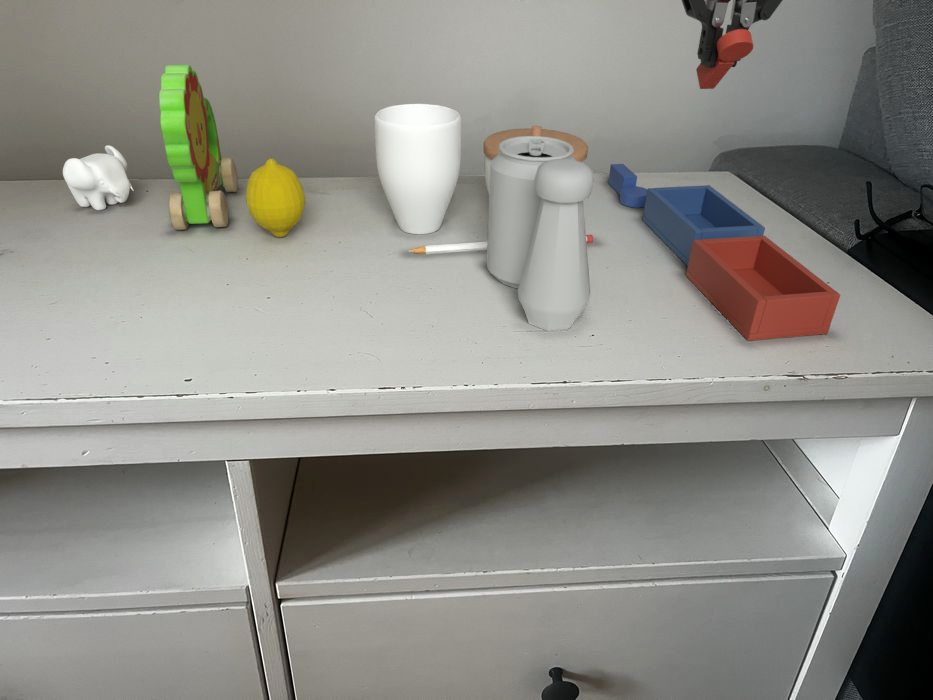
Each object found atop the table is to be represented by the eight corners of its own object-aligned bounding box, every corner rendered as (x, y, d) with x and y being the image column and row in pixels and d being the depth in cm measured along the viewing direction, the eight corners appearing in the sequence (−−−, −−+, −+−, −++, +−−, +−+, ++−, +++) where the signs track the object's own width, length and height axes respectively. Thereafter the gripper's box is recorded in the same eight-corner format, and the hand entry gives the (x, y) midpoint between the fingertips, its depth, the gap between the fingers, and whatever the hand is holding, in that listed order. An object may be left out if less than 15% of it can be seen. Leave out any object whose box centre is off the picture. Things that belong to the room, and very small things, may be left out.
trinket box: (460, 210, 78) (462, 123, 73) (530, 189, 84) (536, 107, 79) (530, 243, 72) (537, 149, 67) (600, 217, 78) (612, 129, 73)
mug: (462, 242, 72) (464, 126, 65) (378, 243, 71) (372, 126, 65) (455, 198, 82) (456, 94, 75) (381, 198, 81) (376, 94, 75)
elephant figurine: (108, 222, 74) (93, 166, 71) (49, 210, 76) (32, 155, 73) (155, 200, 79) (142, 147, 76) (98, 189, 82) (84, 137, 78)
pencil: (593, 243, 72) (593, 237, 72) (407, 256, 69) (407, 249, 68) (590, 239, 73) (591, 233, 72) (406, 252, 69) (406, 246, 69)
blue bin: (702, 216, 78) (709, 185, 76) (756, 262, 69) (765, 227, 67) (642, 220, 77) (647, 187, 75) (688, 267, 68) (695, 231, 66)
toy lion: (193, 187, 83) (165, 46, 75) (241, 185, 84) (219, 45, 75) (166, 245, 70) (129, 81, 61) (224, 242, 70) (196, 80, 62)
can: (480, 289, 63) (484, 155, 57) (491, 253, 70) (497, 128, 63) (566, 297, 62) (580, 161, 56) (569, 260, 69) (583, 134, 62)
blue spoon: (601, 183, 86) (604, 164, 85) (626, 182, 87) (629, 163, 86) (625, 208, 80) (628, 187, 79) (652, 207, 80) (656, 186, 79)
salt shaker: (595, 311, 61) (615, 158, 53) (574, 343, 56) (593, 182, 49) (530, 295, 63) (541, 147, 55) (505, 326, 58) (514, 169, 51)
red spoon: (692, 89, 76) (688, 69, 76) (721, 88, 76) (717, 68, 77) (728, 41, 68) (724, 19, 68) (760, 41, 68) (755, 19, 69)
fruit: (303, 221, 75) (295, 145, 71) (313, 243, 71) (305, 163, 66) (249, 228, 73) (237, 150, 69) (255, 250, 69) (243, 169, 65)
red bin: (755, 270, 67) (764, 235, 66) (827, 334, 58) (840, 294, 56) (685, 275, 66) (693, 239, 64) (747, 340, 57) (758, 301, 55)
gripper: (704, -144, 60) (668, 75, 69) (854, -140, 62) (799, 72, 71) (668, -141, 66) (640, 59, 75) (806, -138, 68) (761, 57, 77)
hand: (718, 65), depth 73 cm, fingers closed on red spoon, 1 cm apart
